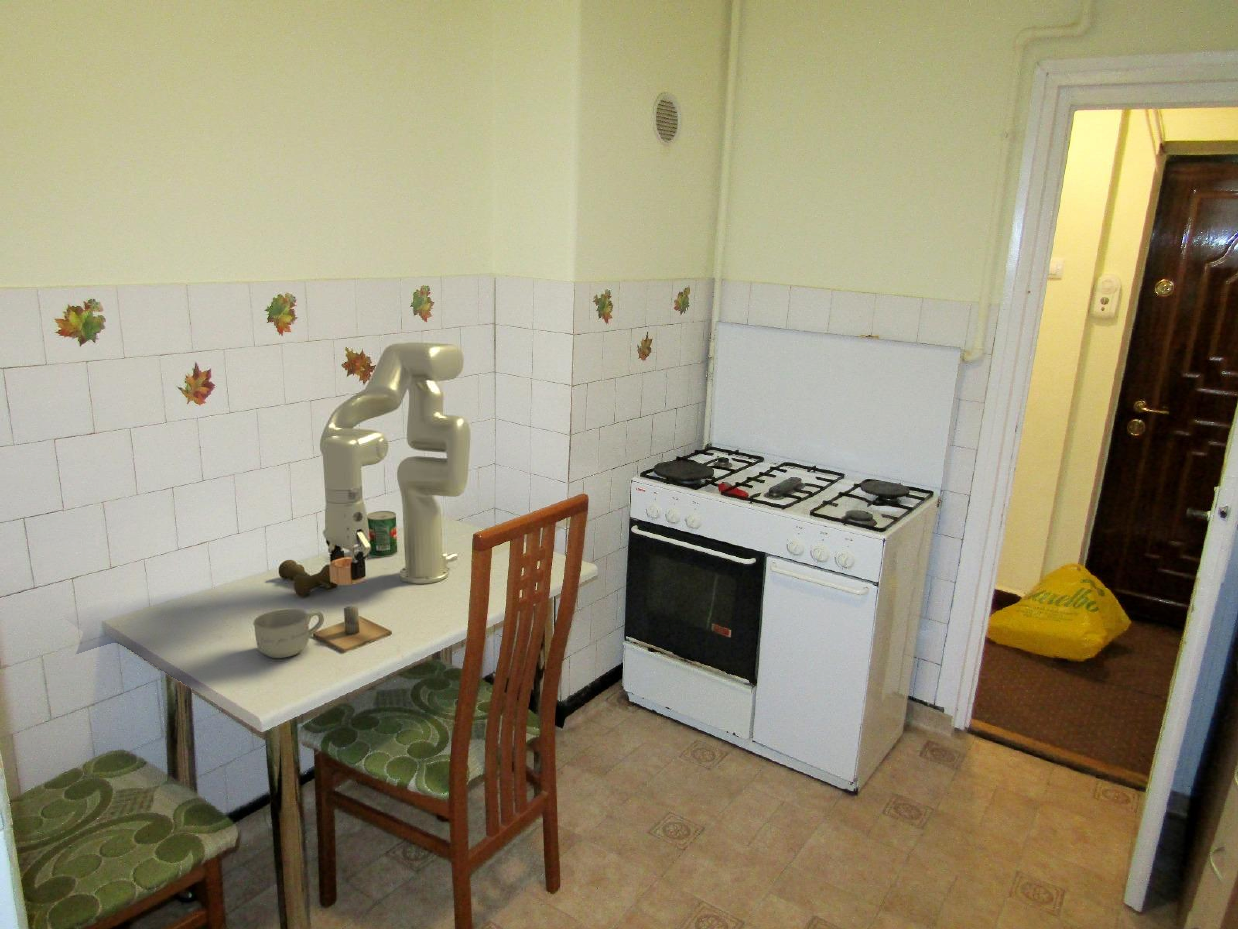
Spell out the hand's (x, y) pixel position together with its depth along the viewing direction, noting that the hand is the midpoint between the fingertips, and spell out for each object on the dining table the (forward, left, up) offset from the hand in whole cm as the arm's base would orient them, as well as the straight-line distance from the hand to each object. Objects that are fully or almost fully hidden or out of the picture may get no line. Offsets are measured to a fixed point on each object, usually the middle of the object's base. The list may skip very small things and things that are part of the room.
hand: (348, 573), depth 191 cm
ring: (0, 0, -1) cm, 1 cm away
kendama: (-9, -32, -15) cm, 36 cm away
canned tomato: (-36, -39, -15) cm, 55 cm away
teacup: (+12, -3, -15) cm, 20 cm away
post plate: (0, 0, -15) cm, 15 cm away
